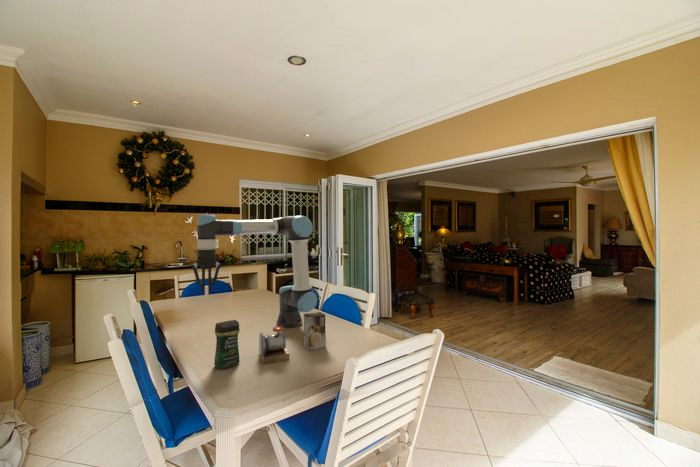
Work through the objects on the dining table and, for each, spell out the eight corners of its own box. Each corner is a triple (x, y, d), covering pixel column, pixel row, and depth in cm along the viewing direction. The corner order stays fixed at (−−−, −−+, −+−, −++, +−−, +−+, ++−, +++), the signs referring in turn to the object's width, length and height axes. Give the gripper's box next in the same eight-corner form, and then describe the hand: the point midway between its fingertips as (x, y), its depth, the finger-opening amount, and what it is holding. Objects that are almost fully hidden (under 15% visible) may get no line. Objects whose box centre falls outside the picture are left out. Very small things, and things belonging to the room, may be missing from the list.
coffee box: (320, 343, 159) (320, 311, 159) (325, 347, 153) (325, 314, 153) (303, 346, 155) (303, 313, 155) (308, 350, 149) (307, 316, 149)
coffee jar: (219, 371, 127) (218, 325, 127) (212, 365, 133) (211, 321, 133) (242, 364, 134) (242, 321, 134) (234, 359, 140) (234, 317, 139)
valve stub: (283, 350, 150) (283, 323, 149) (289, 360, 139) (289, 330, 138) (258, 354, 145) (258, 326, 145) (263, 364, 134) (263, 334, 134)
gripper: (221, 248, 150) (221, 297, 150) (190, 248, 145) (190, 300, 145) (222, 249, 143) (222, 301, 143) (190, 249, 138) (190, 303, 138)
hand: (206, 300), depth 144 cm, fingers closed
